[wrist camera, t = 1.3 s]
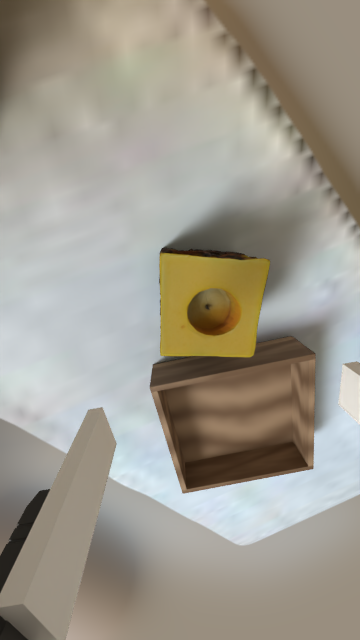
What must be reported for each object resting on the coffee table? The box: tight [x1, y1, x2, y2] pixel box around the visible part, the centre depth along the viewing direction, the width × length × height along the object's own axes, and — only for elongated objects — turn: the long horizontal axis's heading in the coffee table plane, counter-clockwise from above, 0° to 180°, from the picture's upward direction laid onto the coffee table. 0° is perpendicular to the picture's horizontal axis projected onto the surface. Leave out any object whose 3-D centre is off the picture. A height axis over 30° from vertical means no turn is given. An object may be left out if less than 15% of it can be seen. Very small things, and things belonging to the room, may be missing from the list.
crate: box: [150, 336, 315, 493], centre depth 33 cm, size 22×22×6 cm
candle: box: [159, 248, 270, 357], centre depth 24 cm, size 10×10×10 cm
